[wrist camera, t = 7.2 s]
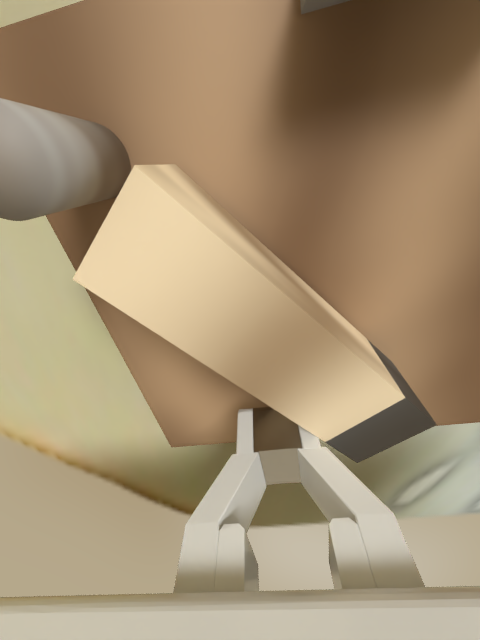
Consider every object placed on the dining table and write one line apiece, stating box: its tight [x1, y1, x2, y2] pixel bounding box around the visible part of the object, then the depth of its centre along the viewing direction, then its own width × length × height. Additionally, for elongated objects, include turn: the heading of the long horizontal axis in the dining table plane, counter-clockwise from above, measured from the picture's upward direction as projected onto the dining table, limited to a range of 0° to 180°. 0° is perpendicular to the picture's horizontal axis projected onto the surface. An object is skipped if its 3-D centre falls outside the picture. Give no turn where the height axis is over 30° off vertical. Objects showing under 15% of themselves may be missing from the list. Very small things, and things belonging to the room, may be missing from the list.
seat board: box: [0, 0, 480, 447], centre depth 7 cm, size 14×14×4 cm
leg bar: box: [73, 164, 437, 463], centre depth 7 cm, size 9×2×2 cm, turn 49°
